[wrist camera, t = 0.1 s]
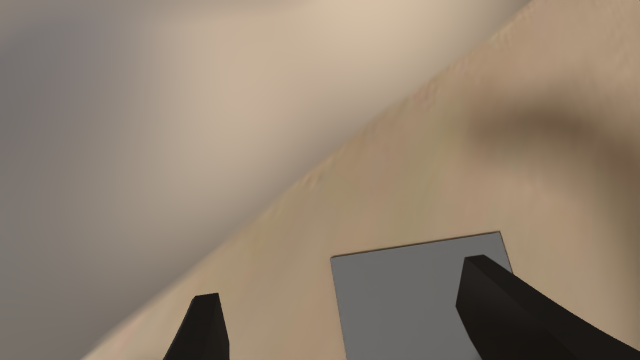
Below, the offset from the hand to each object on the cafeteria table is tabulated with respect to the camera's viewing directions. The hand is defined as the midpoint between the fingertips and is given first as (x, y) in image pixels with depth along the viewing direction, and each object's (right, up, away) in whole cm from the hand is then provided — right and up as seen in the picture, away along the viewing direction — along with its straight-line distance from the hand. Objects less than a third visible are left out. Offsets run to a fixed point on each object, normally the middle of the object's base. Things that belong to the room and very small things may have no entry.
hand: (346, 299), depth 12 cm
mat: (+11, -10, +31) cm, 35 cm away
